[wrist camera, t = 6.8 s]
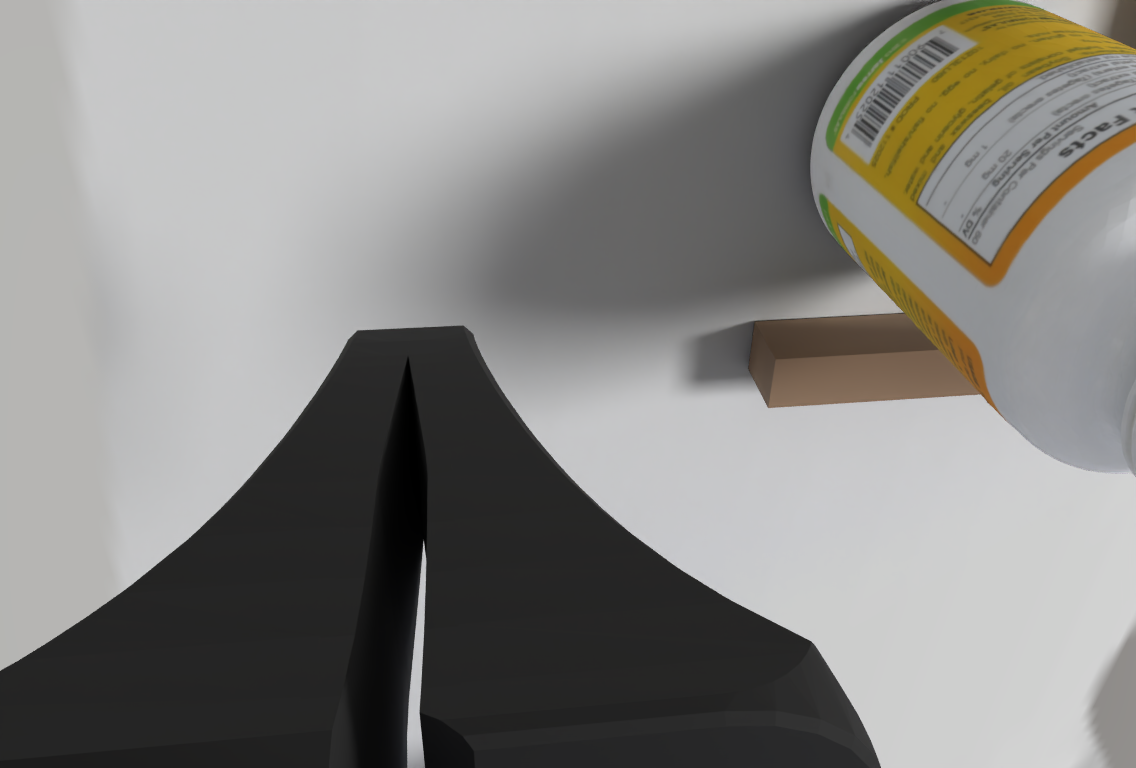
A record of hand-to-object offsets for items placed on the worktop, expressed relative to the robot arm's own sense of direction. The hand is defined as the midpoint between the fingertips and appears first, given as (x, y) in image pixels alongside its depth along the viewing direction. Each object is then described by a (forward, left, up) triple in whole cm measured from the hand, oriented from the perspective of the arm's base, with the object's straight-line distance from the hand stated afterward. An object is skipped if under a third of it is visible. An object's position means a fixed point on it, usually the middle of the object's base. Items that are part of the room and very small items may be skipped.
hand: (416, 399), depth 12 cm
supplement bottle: (0, -10, -8) cm, 13 cm away
